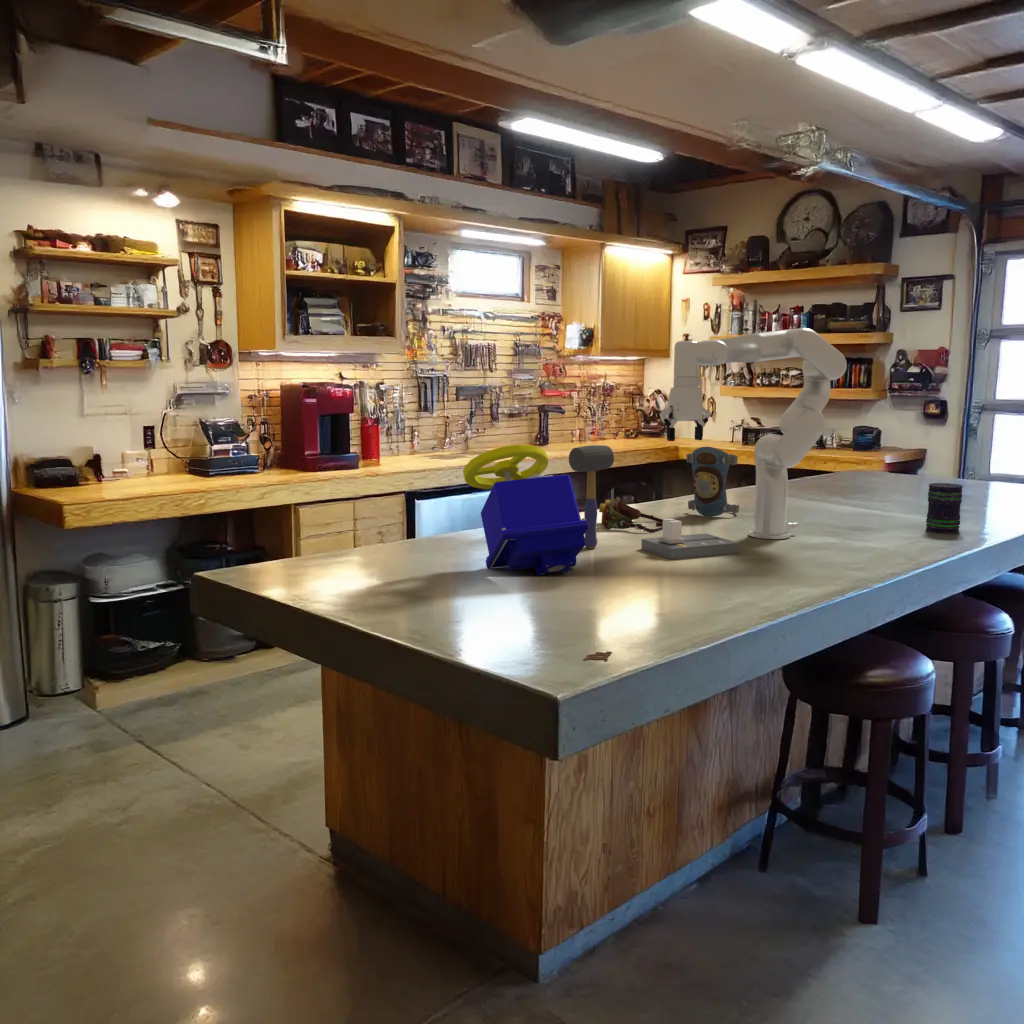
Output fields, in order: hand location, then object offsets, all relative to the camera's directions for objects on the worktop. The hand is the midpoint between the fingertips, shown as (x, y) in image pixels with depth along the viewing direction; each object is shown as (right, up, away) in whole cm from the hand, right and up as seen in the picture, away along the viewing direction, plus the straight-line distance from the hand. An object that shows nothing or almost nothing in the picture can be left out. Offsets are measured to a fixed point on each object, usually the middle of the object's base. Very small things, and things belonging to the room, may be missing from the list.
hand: (684, 440), depth 269 cm
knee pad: (+20, -23, +51) cm, 59 cm away
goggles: (-12, -27, +27) cm, 40 cm away
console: (-1, -33, -13) cm, 35 cm away
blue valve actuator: (-49, -37, -38) cm, 72 cm away
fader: (-7, -30, -16) cm, 34 cm away
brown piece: (-33, -47, -99) cm, 114 cm away
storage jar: (+86, -28, +17) cm, 92 cm away
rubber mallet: (-29, -32, -8) cm, 44 cm away
